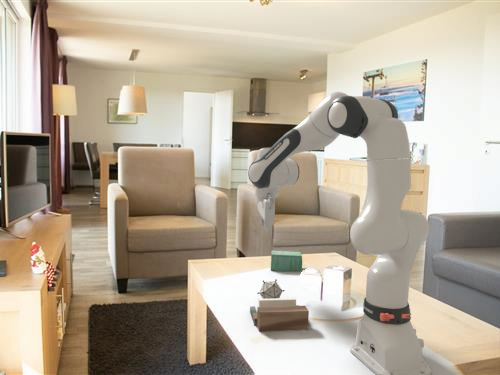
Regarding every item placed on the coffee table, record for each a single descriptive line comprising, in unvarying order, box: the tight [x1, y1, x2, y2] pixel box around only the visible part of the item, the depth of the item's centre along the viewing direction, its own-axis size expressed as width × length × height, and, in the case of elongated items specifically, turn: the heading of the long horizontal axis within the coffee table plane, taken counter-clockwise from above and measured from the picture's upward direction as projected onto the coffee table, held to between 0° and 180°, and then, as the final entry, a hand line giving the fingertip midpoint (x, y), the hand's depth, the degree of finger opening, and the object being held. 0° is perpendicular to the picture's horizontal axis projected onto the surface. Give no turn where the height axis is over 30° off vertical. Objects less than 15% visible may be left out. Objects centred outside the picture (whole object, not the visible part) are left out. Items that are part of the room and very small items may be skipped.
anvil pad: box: [258, 297, 297, 307], centre depth 150 cm, size 2×12×5 cm, turn 98°
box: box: [270, 250, 303, 273], centre depth 202 cm, size 7×14×8 cm, turn 88°
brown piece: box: [249, 304, 310, 333], centre depth 146 cm, size 15×17×6 cm
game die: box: [257, 279, 286, 299], centre depth 161 cm, size 9×8×10 cm
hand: (265, 228), depth 170 cm, fingers open, 8 cm apart
